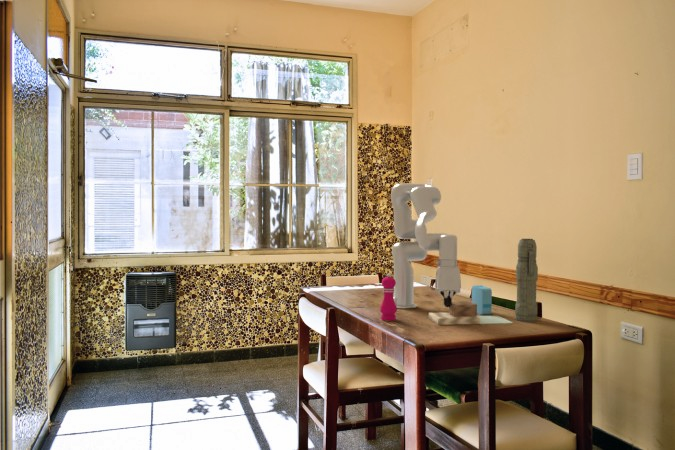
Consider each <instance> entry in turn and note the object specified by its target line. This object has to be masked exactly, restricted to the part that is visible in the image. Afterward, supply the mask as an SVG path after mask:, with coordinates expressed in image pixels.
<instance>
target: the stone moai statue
mask: <svg viewBox="0 0 675 450" xmlns="http://www.w3.org/2000/svg"><path fill="white" fill-rule="evenodd" d="M537 246H538V245H537V243H536V240H535V239H533V238H521V239H519V241H518V244H517V263H516V266H515V279H516V302H515V304H514V305H515V308H514V309H515V310H514V311H515V312H514V314H515V321H518V322H521V323H522V322H523V323H524V322H525V323H535V322H537V321H538V319H537V316H538V303H537V281H538V278H539V276H538V275H539V274H538V273H539V269H538V264H537V251H538V250H537Z"/></svg>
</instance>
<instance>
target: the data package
mask: <svg viewBox="0 0 675 450" xmlns="http://www.w3.org/2000/svg"><path fill="white" fill-rule="evenodd" d="M492 291H493V290H492V288H491V287H487V286H484V285H472V287H471V302H473V303H475V304H477V315H478V314H479V315H480V316H491V314H492V309H493V308H492V303H493V302H492V299H493V298H492V297H493V294H492V293H493V292H492Z"/></svg>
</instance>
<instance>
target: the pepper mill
mask: <svg viewBox="0 0 675 450" xmlns="http://www.w3.org/2000/svg"><path fill="white" fill-rule="evenodd" d="M395 285H396V281H395V279H394V277H392V276H391V273H389V272H388V273H387V274H386V276H385V277H383V278H382V279H381V286H382V287H383V288H382V292H383V298H382V299H383V300H382V302H381V304H380V309H379V311H380V313H381V317H380V318H381V319H380V320H381V321H384V320H388V321H387V322H391V320H394V321H396V319H397V318H396V317H397V316H396V313H397V312H398V308H397V307H396V304H395V301H394V298H393V296H394V286H395Z"/></svg>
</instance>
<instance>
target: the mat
mask: <svg viewBox="0 0 675 450" xmlns="http://www.w3.org/2000/svg"><path fill="white" fill-rule="evenodd" d="M477 317H479V318H480V324H479V325H502V324H504V325H505V324H506V325H508V324H509V325H510V324H511V325H512V324H514V323H513V321H510V320H508V319H506V318H503V317H501V316H500V315H477Z"/></svg>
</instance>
